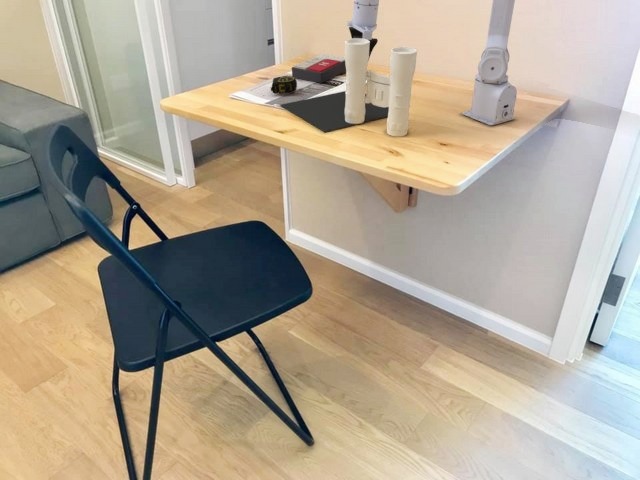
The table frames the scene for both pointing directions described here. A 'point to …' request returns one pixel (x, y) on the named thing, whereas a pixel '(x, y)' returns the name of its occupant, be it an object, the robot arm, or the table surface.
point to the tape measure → (284, 84)
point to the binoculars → (379, 85)
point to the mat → (331, 111)
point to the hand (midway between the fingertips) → (359, 62)
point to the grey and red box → (319, 68)
